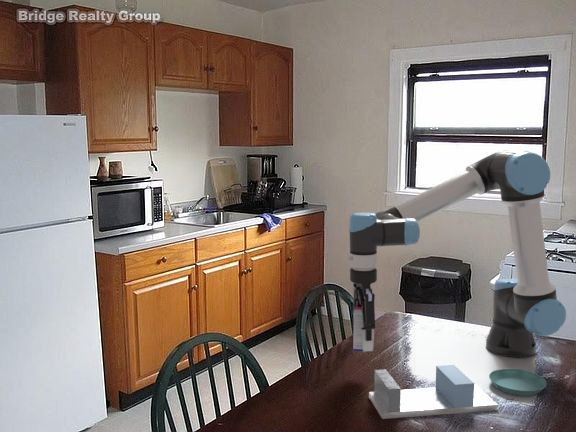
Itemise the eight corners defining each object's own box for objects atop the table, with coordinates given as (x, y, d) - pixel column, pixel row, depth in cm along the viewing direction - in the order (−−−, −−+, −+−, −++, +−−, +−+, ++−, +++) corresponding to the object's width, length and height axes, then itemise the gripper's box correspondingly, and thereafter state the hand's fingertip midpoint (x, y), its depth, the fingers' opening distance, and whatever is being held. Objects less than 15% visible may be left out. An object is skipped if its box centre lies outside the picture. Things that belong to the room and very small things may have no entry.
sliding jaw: (453, 386, 157) (453, 364, 156) (473, 406, 145) (474, 383, 144) (435, 387, 156) (436, 365, 155) (454, 407, 144) (455, 384, 144)
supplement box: (373, 352, 163) (373, 312, 162) (352, 351, 165) (352, 312, 163) (374, 344, 169) (374, 306, 167) (354, 343, 170) (354, 306, 169)
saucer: (503, 372, 170) (503, 364, 170) (555, 387, 160) (555, 378, 159) (478, 388, 160) (479, 378, 159) (532, 405, 149) (532, 395, 149)
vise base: (475, 389, 158) (476, 363, 157) (497, 410, 146) (498, 381, 145) (368, 397, 154) (369, 370, 153) (382, 418, 142) (382, 389, 141)
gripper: (342, 261, 173) (343, 335, 176) (359, 276, 153) (360, 360, 156) (366, 259, 174) (367, 333, 177) (387, 275, 154) (387, 357, 157)
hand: (364, 345), depth 167 cm, fingers closed on supplement box, 7 cm apart
